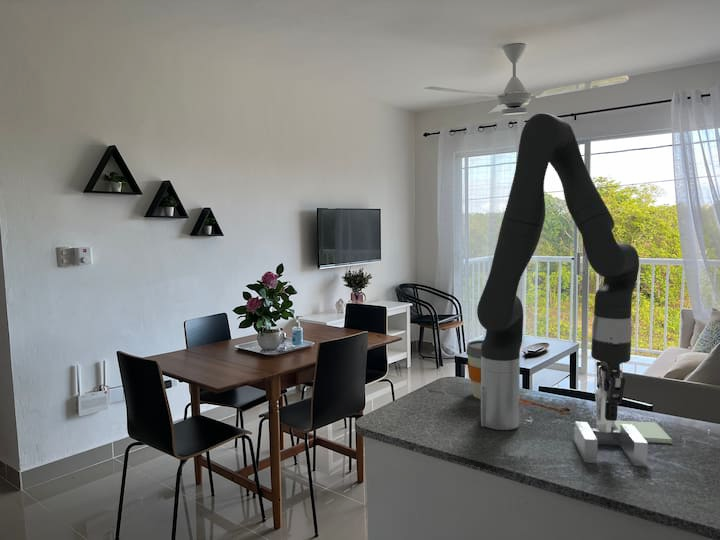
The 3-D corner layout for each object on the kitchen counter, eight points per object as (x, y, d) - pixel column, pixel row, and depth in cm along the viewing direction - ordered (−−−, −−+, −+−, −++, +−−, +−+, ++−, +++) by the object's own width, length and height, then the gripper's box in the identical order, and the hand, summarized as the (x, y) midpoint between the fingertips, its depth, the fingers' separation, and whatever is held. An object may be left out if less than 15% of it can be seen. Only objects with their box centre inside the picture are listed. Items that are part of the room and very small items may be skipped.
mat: (623, 440, 120) (623, 436, 120) (611, 424, 130) (611, 420, 130) (671, 443, 118) (671, 439, 118) (655, 426, 128) (655, 422, 128)
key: (512, 405, 146) (563, 419, 135) (512, 402, 146) (563, 416, 135) (523, 399, 150) (574, 412, 139) (523, 395, 150) (574, 408, 139)
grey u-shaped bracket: (584, 462, 110) (584, 439, 109) (573, 440, 121) (573, 418, 120) (647, 466, 107) (647, 442, 107) (630, 443, 118) (630, 421, 118)
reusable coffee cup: (498, 405, 144) (498, 352, 143) (458, 396, 152) (458, 345, 151) (517, 393, 154) (518, 343, 152) (479, 385, 162) (479, 338, 161)
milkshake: (624, 434, 111) (626, 388, 110) (599, 434, 111) (601, 387, 110) (614, 426, 115) (616, 381, 114) (590, 425, 115) (591, 381, 114)
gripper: (585, 329, 119) (582, 403, 120) (600, 344, 105) (596, 427, 106) (621, 331, 117) (617, 405, 119) (641, 346, 103) (637, 430, 105)
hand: (607, 415), depth 112 cm, fingers closed on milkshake, 4 cm apart
